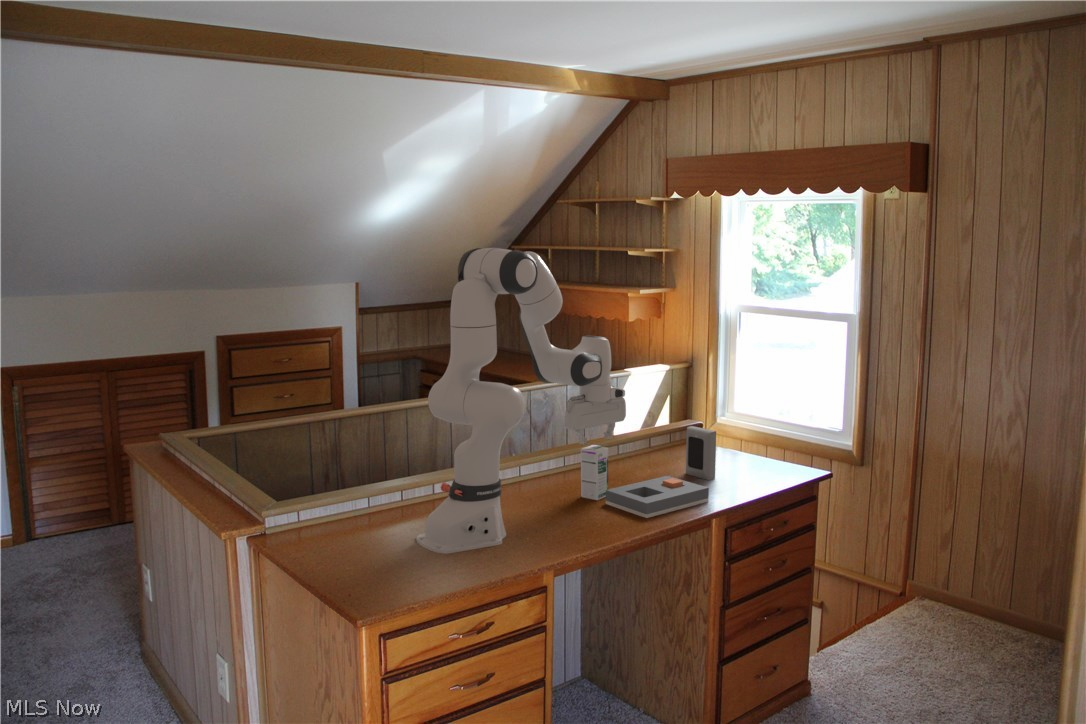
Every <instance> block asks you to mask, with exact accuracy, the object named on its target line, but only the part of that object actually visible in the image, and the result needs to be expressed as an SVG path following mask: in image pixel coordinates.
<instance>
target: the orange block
mask: <svg viewBox="0 0 1086 724" xmlns="http://www.w3.org/2000/svg"><path fill="white" fill-rule="evenodd" d="M673 478H674V477H673ZM673 478H672V479H668V480H663V486H666V487H669V488H677V487H682V486H683V481H680V480H681V479H680V480H677V479H678V478H677V479H673Z"/></svg>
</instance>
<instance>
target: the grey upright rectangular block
mask: <svg viewBox="0 0 1086 724" xmlns="http://www.w3.org/2000/svg"><path fill="white" fill-rule="evenodd" d="M685 440H686V442H685V444H686V446H685V475H688V476H689V475H690V476H692V477H696V478H699V479H702V480H707V481H712V480H715V479H716V454H717V453H716V451H717V430H713V429H709V428H708V429H707V428H703V427H698V426H693V425H690V426H687V427H686V439H685Z"/></svg>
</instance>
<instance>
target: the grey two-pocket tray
mask: <svg viewBox="0 0 1086 724" xmlns="http://www.w3.org/2000/svg"><path fill="white" fill-rule="evenodd" d="M672 478H673V479H677V480H680V481H683V486H682V487H677V488H669V487H666V486H663V480H668V479H672ZM709 492H710V488H709V486H705V485H700V484H697V483H695V482H694V483H693V482H691V481H687V480H683V479H680V478H676V477H673V476H670V475H664V476H660V477H656V478H652V479H647V480H642V481H639V482H634V483H630V484H626V485H621V486H617V487H613V488H608V490H606V497H605V504H606V505H608V506H610V507H613V508H617V509H619V510H622V511H625V512H627V513H631V514H633V515H636V516H639V517H643V518H645V519H649V518H652V517H655V516H660V515H663V514H668V513H671V512H674V511H679V510H682V509H687V508H690V507H693V506H697V505H701V504H704V503H709Z"/></svg>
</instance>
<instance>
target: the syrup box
mask: <svg viewBox="0 0 1086 724" xmlns="http://www.w3.org/2000/svg"><path fill="white" fill-rule="evenodd" d="M608 489H609V447H608V446H604V445H599V444H591V445H588V446H585V447H582V448H580V491H581V492H580V495H581V498H585V499H588V500H594V501H599V500H602V499H605V498H606V490H608Z"/></svg>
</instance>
